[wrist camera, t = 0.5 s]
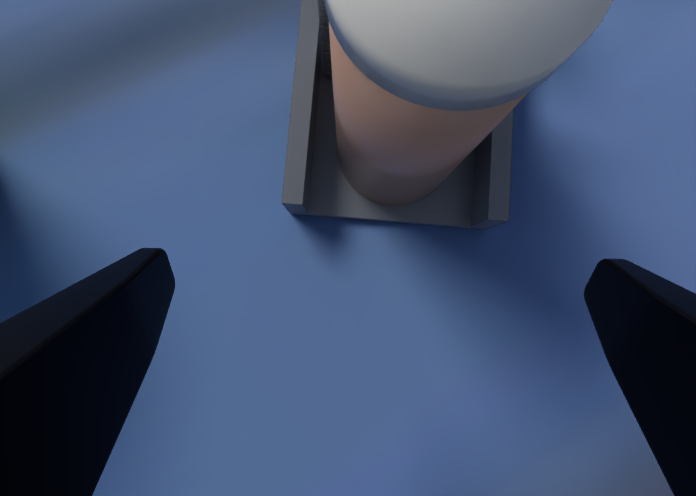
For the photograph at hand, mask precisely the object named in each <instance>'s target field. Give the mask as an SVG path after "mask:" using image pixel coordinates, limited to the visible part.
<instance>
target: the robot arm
mask: <svg viewBox="0 0 696 496" xmlns="http://www.w3.org/2000/svg"><path fill="white" fill-rule="evenodd" d="M174 289H175V279H174V275H173V272H172V269H171V266H170V263H169V260H168V257H167V254H166V252H165V251H164V250H163V249H161V248H141V249H139V250H137V251H135V252H133V253H131V254H130V255H128V256H126V257H124V258H122V259H120V260H118V261H116V262H114V263H113V264H111V265H109V266H107V267H105V268H103V269H101V270H99V271H98V272H96V273H94V274H92V275H90V276H88V277H86V278H84V279H83V280H81V281H79V282H77V283H75V284H73V285H71V286H69V287H68V288H66V289H64V290H62V291H60V292H58V293H56V294H54V295H52V296H51V297H49V298H47V299H45V300H43V301H41V302H39V303H37V304H36V305H34V306H32V307H30V308H28V309H26V310H24V311H22V312H21V313H19V314H17V315H15V316H13V317H11V318H9V319H7V320H6V321H4V322H2V323H0V496H92V495H93V492H94V490H95V488H96V486H97V483H98V481H99V479H100V477H101V474H102V472H103V470H104V467H105V465H106V463H107V461H108V458H109V456H110V454H111V452H112V449H113V447H114V445H115V443H116V440H117V438H118V436H119V433H120V431H121V429H122V427H123V424H124V422H125V420H126V418H127V415H128V413H129V411H130V409H131V406H132V404H133V402H134V399H135V397H136V395H137V393H138V390H139V388H140V386H141V384H142V381H143V379H144V377H145V375H146V372H147V370H148V368H149V365H150V363H151V361H152V358H153V356H154V353H155V350H156V348H157V345H158V342H159V338H160V335H161V332H162V329H163V325H164V322H165V319H166V316H167V312H168V309H169V306H170V303H171V299H172V296H173V293H174ZM584 298H585V302H586V304H587V307H588V310H589V312H590V315H591V318H592V321H593V323H594V326H595V329H596V331H597V334H598V337H599V339H600V342H601V345H602V348H603V350H604V353H605V355H606V358H607V360H608V363H609V365H610V367H611V369H612V372H613V374H614V376H615V378H616V380H617V382H618V384H619V386H620V388H621V390H622V392H623V394H624V396H625V398H626V400H627V402H628V404H629V406H630V408H631V410H632V412H633V414H634V416H635V418H636V420H637V422H638V424H639V426H640V428H641V430H642V432H643V434H644V436H645V438H646V440H647V442H648V444H649V446H650V448H651V450H652V452H653V454H654V456H655V458H656V460H657V462H658V464H659V466H660V468H661V470H662V472H663V474H664V476H665V478H666V480H667V482H668V484H669V486H670V488H671V490H672V492H673V494H674V496H696V294H695V293H693V292H691V291H689V290H687V289H685V288H683V287H681V286H679V285H677V284H675V283H673V282H670V281H668V280H666V279H664V278H662V277H660V276H658V275H656V274H654V273H652V272H650V271H648V270H646V269H644V268H642V267H640V266H638V265H636V264H634V263H632V262H629V261H627V260H624V259H603V260H601V261H600V262H599V263H598V264H597V266H596V268H595V270H594V272H593V273H592V275H591V277H590V279H589V281H588V283H587V285H586V287H585V291H584Z"/></svg>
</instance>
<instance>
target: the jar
mask: <svg viewBox="0 0 696 496" xmlns="http://www.w3.org/2000/svg"><path fill="white" fill-rule="evenodd" d="M612 1H613V0H324V5H325V8H326V12H327V16H328V20H329V33H330V49H331V65H332V81H333V96H334V112H335V128H336V143H337V156H338V161H339V165H340V168H341V171H342V173H343V175H344V176H345V178H346V180H347V181H348V183H349V184H350V185H351V186H352V187H353V188H354V189H355V190H356V191H357V192H358V193H360V194H361V195H362V196H364V197H366V198H367V199H369V200H371V201H374V202H376V203H380V204H384V205H406V204H410V203H414V202H416V201H419V200H421V199H423V198H424V197H426V196H428V195H429V194H430V193H432V192H433V191H434V190H435V189H436V188H437V187H438V186H439V185H440V184H441V183H442V182H443V181H444V180H445V179H446V178H447V177H448V176H449V175H450V174H451V173H452V171H453V170H454V169H455V168H456V167H457V166H458V165H459V164H460V163H461V162H462V161H463V160H464V159H465V158H466V157H467V156H468V155H469V154H470V153H471V152H472V151H473V150H474V149H475V148H476V147H477V146H478V145H479V144H480V143H481V142H482V141H483V140H484V138H485V137H486V136H487V135H488V134H489V133H490V132H491V131H492V130H493V129H494V128H495V127H496V126H497V125H498V124H499V123H500V122H501V121H502V120H503V119H504V118H505V117H506V116H507V115H508V114H509V113H510V112H511V111H512V110H513V109H514V108H515V107H516V105H517V104H518V103H519V102H520V101H521V100H522V99H523V98H524V97H525V96H526V95H527V94H528V93H529V92H530V91H532V90H533V89H535V88H536V87H537V86H539V85H540V84H541V83H543V82H544V81H546V80H547V79H548V78H549V77H550V76H551V75H552V74H553V73H554V72H555V71H556V70H557V69H558V68H559V67H560V66H561V65H562V64H563V63H564V62H565V61H566V60H567V59H568V58H569V57H570V56H571V55H572V54H573V53H574V52H575V51H576V50H577V49H578V48H579V47H580V46H581V45H582V44H583V43H584V42H585V41H586V40H587V39H588V38H589V37H590V36H591V35H592V33H593V32H594V31H595V29H596V28H597V27H598V26H599V24H600V23H601V22H602V20H603V18H604V16H605V15H606V13H607V11H608V9H609V8H610V6H611V4H612Z"/></svg>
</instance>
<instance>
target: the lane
mask: <svg viewBox="0 0 696 496" xmlns="http://www.w3.org/2000/svg"><path fill="white" fill-rule="evenodd" d="M513 111H514V109H513V110H512V111H511V112H510V113H509V114H508V115H507V116H506V117H505V118H504V119H503V120H502V121H501V122H500V123H499V124H498V125H497V126H496V127H495V128H494V129H493V130H492V131H491V132H490V133H489V134H488V135H487V136H486V137H485V138H484V140H483V141H482V142H481V143H480V144H479V145H478V146H477V147H476V148H475V149H474V150H473V151H472V152H471V153H470V154H469V155H468V156H467V157H466V158H465V159H464V160H463V161H462V162H461V163H460V164H459V165H458V166H457V167H456V168H455V169H454V170H453V171H452V173H451V174H450V175H449V176H448V177H447V178H446V179H445V180H444V181H443V182H442V183H441V184H440V185H439V186H438V187H437V188H436V189H435V190H434V191H433V192H432V193H430V194H429V195H428V196H426V197H424V198H423V199H421V200H419V201H416V202H414V203H410V204H406V205H384V204H380V203H376V202H374V201H371V200H369V199H367V198H366V197H364V196H362V195H361V194H360V193H358V192H357V191H356V190H355V189H354V188H353V187H352V186H351V185H350V184H349V183H348V181H347V180H346V178H345V176H344V175H343V173H342V171H341V168H340V165H339V161H338V156H337V143H336V128H335V112H334V96H333V81H332V76H325V73H324V63H323V53H322V43H321V33H320V23H319V13H318V2H317V0H301V10H300V20H299V30H298V41H297V51H296V61H295V71H294V82H293V92H292V102H291V112H290V122H289V133H288V143H287V153H286V163H285V174H284V184H283V194H282V204H283V205H284V206H285V208H286V209H287V210H288V211H289V213H290V214H298V215H310V216H322V217H335V218H347V219H359V220H372V221H384V222H397V223H409V224H421V225H434V226H446V227H458V228H471V229H483V230H486V229H489V228H492V227H494V226H497V225H500V224H503V223H505V222H508V221H509V204H510V181H511V158H512V134H513Z"/></svg>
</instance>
